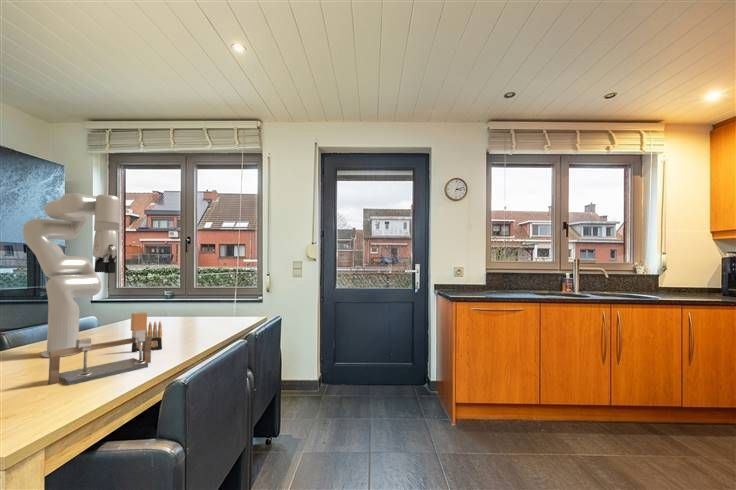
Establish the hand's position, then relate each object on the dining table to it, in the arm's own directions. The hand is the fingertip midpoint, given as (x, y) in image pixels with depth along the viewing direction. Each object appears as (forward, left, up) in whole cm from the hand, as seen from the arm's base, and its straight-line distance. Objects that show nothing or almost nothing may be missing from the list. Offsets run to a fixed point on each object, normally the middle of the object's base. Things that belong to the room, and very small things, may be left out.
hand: (104, 272), depth 130 cm
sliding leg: (+17, +6, -31) cm, 36 cm away
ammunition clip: (-3, +17, -33) cm, 38 cm away
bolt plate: (+16, -4, -33) cm, 37 cm away
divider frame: (+16, -4, -33) cm, 37 cm away
